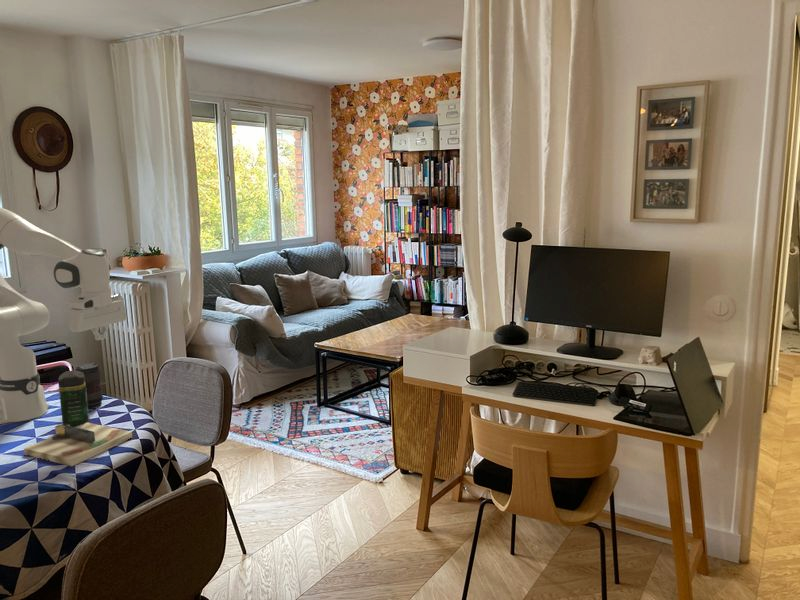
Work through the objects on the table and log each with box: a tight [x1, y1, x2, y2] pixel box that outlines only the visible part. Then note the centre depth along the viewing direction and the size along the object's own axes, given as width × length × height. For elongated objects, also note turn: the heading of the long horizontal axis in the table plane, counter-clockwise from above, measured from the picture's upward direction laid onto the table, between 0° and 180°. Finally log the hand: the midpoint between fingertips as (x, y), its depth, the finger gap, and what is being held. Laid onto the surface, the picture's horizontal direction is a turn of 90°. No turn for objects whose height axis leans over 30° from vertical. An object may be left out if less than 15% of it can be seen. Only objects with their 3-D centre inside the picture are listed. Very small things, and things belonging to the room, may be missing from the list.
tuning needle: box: [54, 423, 95, 443], centre depth 193 cm, size 15×4×3 cm, turn 65°
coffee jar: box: [57, 369, 90, 427], centre depth 207 cm, size 10×8×19 cm
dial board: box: [23, 422, 133, 467], centre depth 193 cm, size 20×22×2 cm
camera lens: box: [75, 362, 104, 410], centre depth 226 cm, size 8×8×15 cm
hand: (100, 339), depth 210 cm, fingers closed
